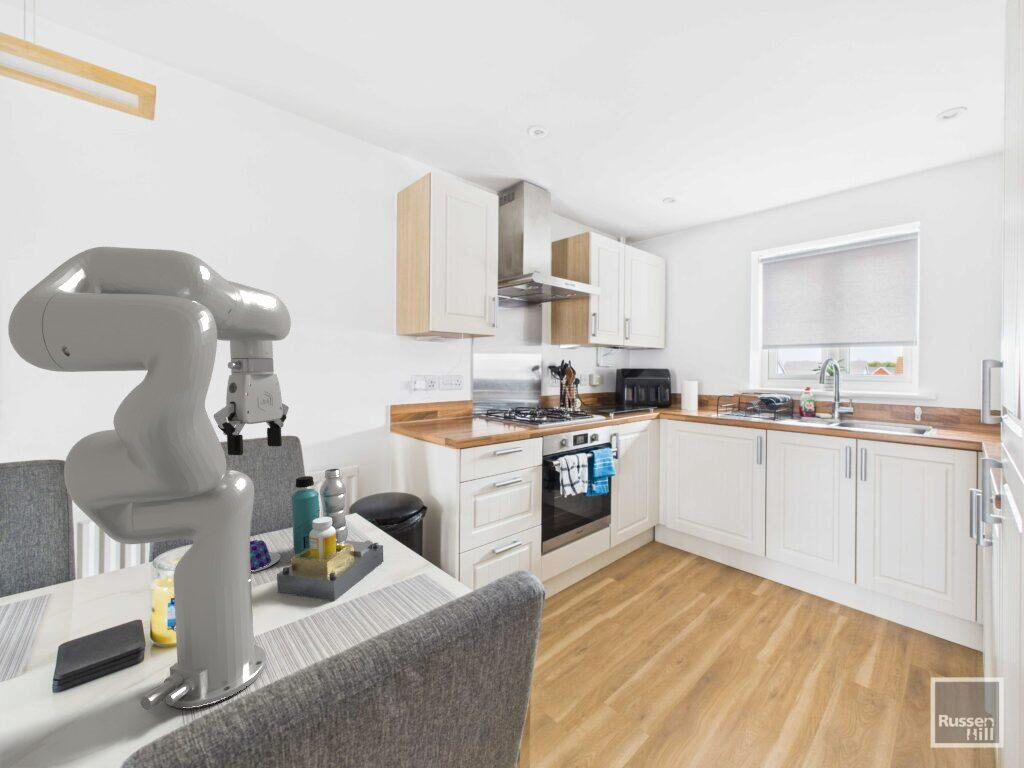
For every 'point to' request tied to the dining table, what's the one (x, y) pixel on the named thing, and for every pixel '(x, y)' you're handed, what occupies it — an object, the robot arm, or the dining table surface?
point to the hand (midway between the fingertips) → (256, 450)
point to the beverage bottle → (304, 513)
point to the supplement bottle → (322, 538)
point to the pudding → (261, 555)
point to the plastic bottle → (334, 502)
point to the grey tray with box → (330, 570)
